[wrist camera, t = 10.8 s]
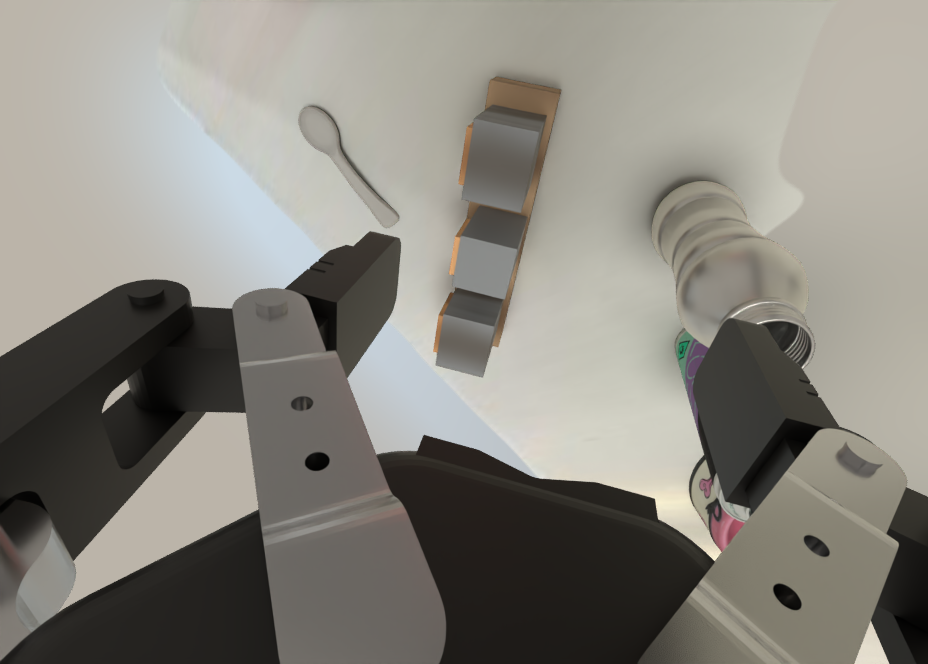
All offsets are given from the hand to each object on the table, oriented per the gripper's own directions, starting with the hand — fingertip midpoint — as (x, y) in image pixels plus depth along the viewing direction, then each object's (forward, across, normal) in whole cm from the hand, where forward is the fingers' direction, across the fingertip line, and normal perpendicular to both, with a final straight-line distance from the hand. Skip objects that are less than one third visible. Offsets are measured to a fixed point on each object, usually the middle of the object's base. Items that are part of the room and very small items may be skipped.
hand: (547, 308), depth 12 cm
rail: (+30, +4, +9) cm, 32 cm away
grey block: (+27, +4, +9) cm, 29 cm away
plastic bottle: (+30, -11, +5) cm, 33 cm away
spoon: (+31, +18, +7) cm, 36 cm away
